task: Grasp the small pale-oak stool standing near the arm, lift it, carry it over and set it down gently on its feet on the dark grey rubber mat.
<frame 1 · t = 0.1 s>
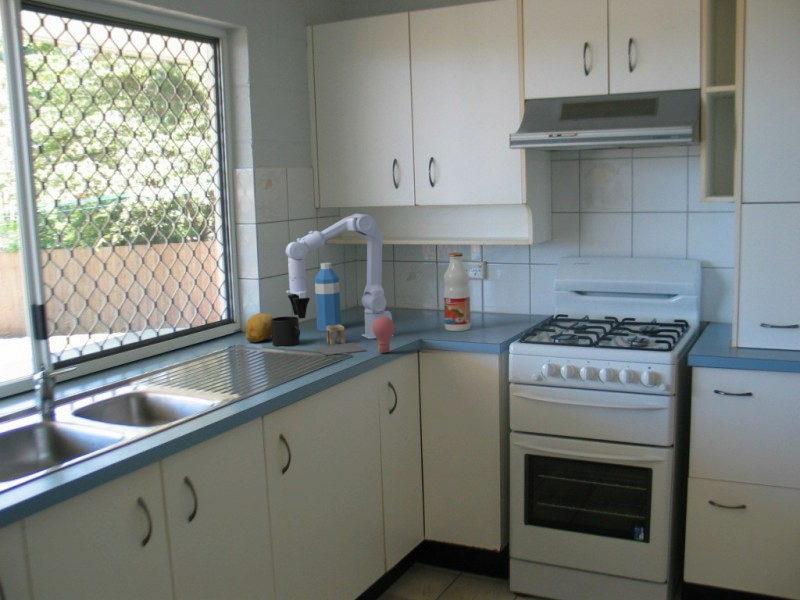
hand: (299, 316, 293), 10 cm above the worktop, fingers open, 7 cm apart
stool: (336, 343, 295), on the worktop
potato: (261, 341, 305), on the worktop
water bottle: (329, 329, 323), on the worktop
mat: (340, 349, 284), on the worktop
mug: (288, 345, 296), on the worktop
light bulb: (384, 353, 276), on the worktop
fruit juice: (457, 329, 313), on the worktop
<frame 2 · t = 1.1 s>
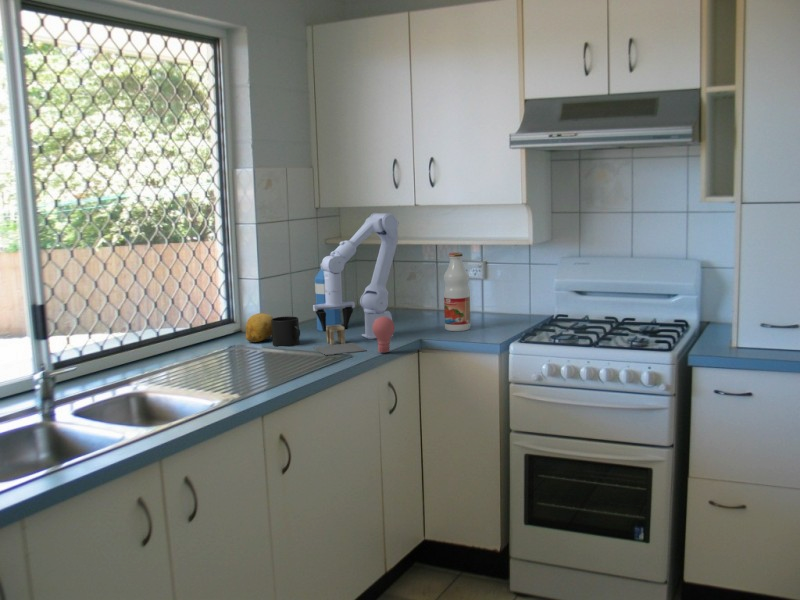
hand: (335, 329, 294), 5 cm above the worktop, fingers open, 7 cm apart
nothing on the worktop moved.
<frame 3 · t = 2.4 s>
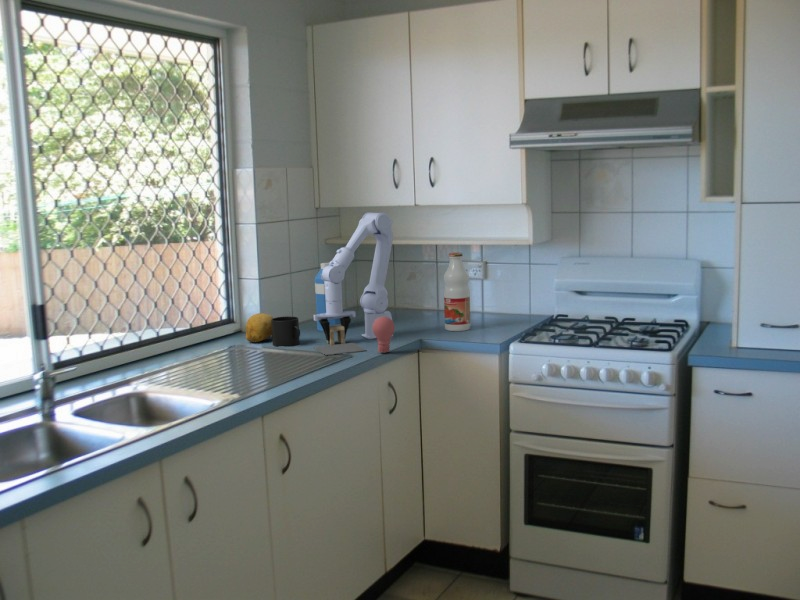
hand: (335, 339, 295), 1 cm above the worktop, fingers closed on stool, 5 cm apart
stool: (336, 343, 295), on the worktop, touching gripper
everything else where it was.
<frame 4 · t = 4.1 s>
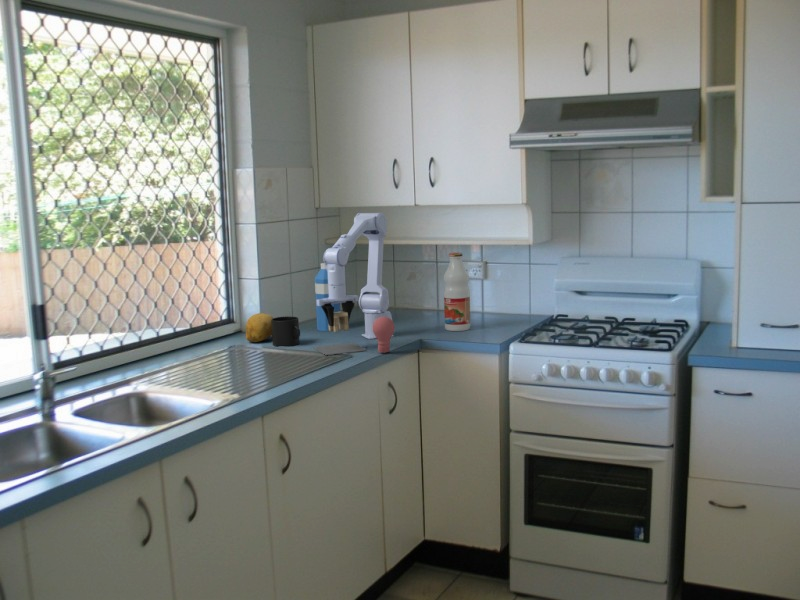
hand: (338, 324, 283), 8 cm above the worktop, fingers closed on stool, 5 cm apart
stool: (338, 330, 283), point 6 cm above the worktop, touching gripper
everything else where it was.
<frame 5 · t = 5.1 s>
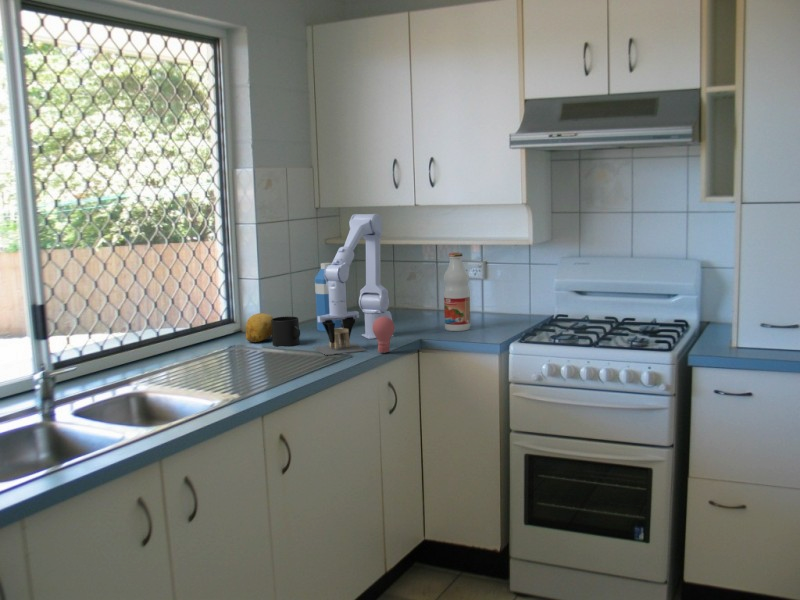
hand: (339, 341, 284), 3 cm above the worktop, fingers closed on stool, 5 cm apart
stool: (339, 346, 284), point 1 cm above the worktop, touching gripper
everything else where it was.
when the fingers open (3 cm above the worktop, at t = 6.0 s): stool stays where it is, resting on mat.
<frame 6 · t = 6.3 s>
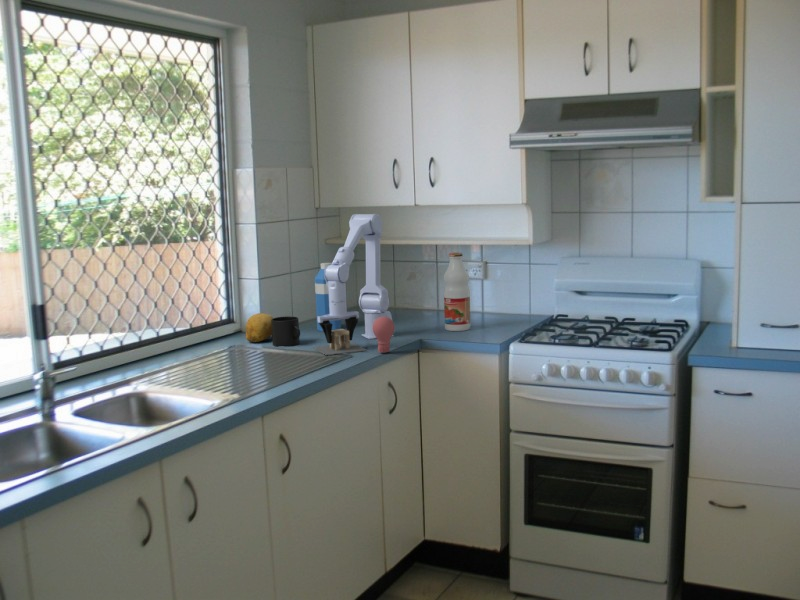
hand: (339, 341, 284), 3 cm above the worktop, fingers open, 7 cm apart
stool: (339, 348, 284), resting on mat
everything else where it was.
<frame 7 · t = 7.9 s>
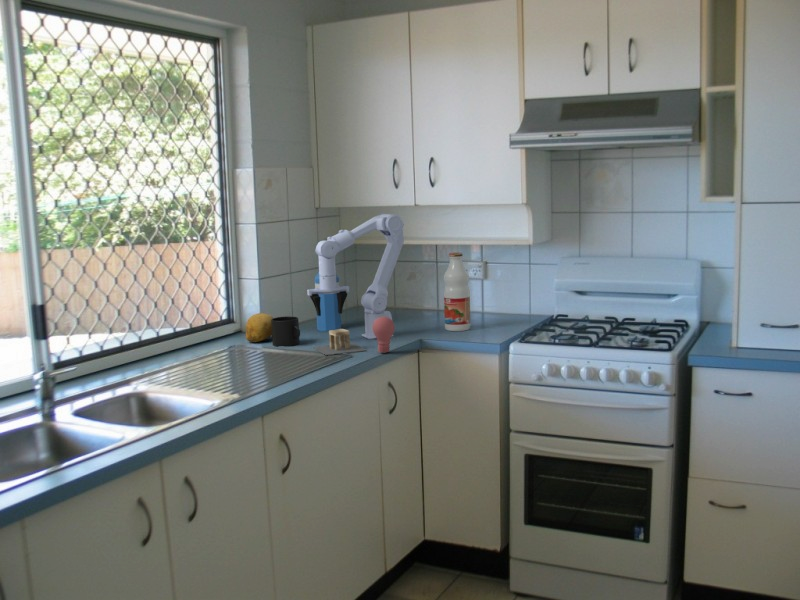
hand: (329, 314, 296), 10 cm above the worktop, fingers open, 7 cm apart
nothing on the worktop moved.
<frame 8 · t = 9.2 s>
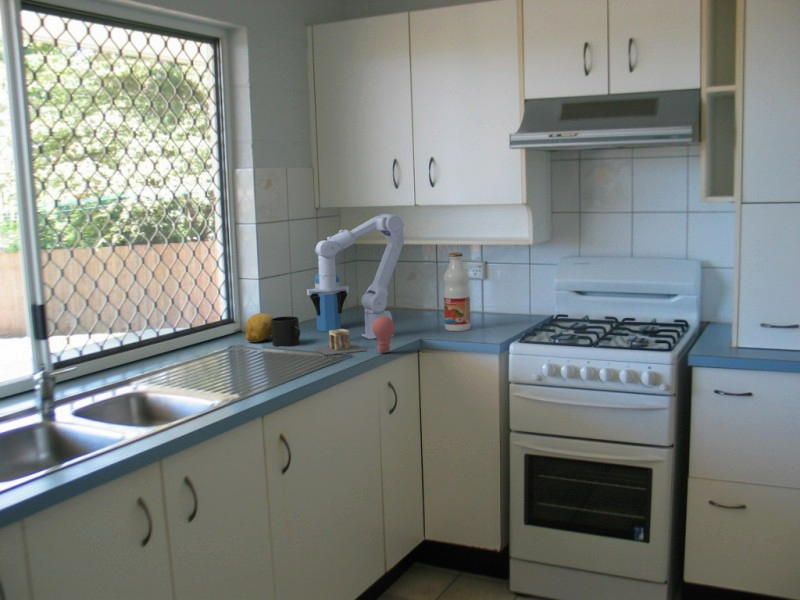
hand: (329, 314, 296), 10 cm above the worktop, fingers open, 7 cm apart
nothing on the worktop moved.
at the end: stool inside the target area on the mat (0.1 cm from its centre), point 0.4 cm above the mat's base; stool tilted 0°; the gripper is holding nothing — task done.
